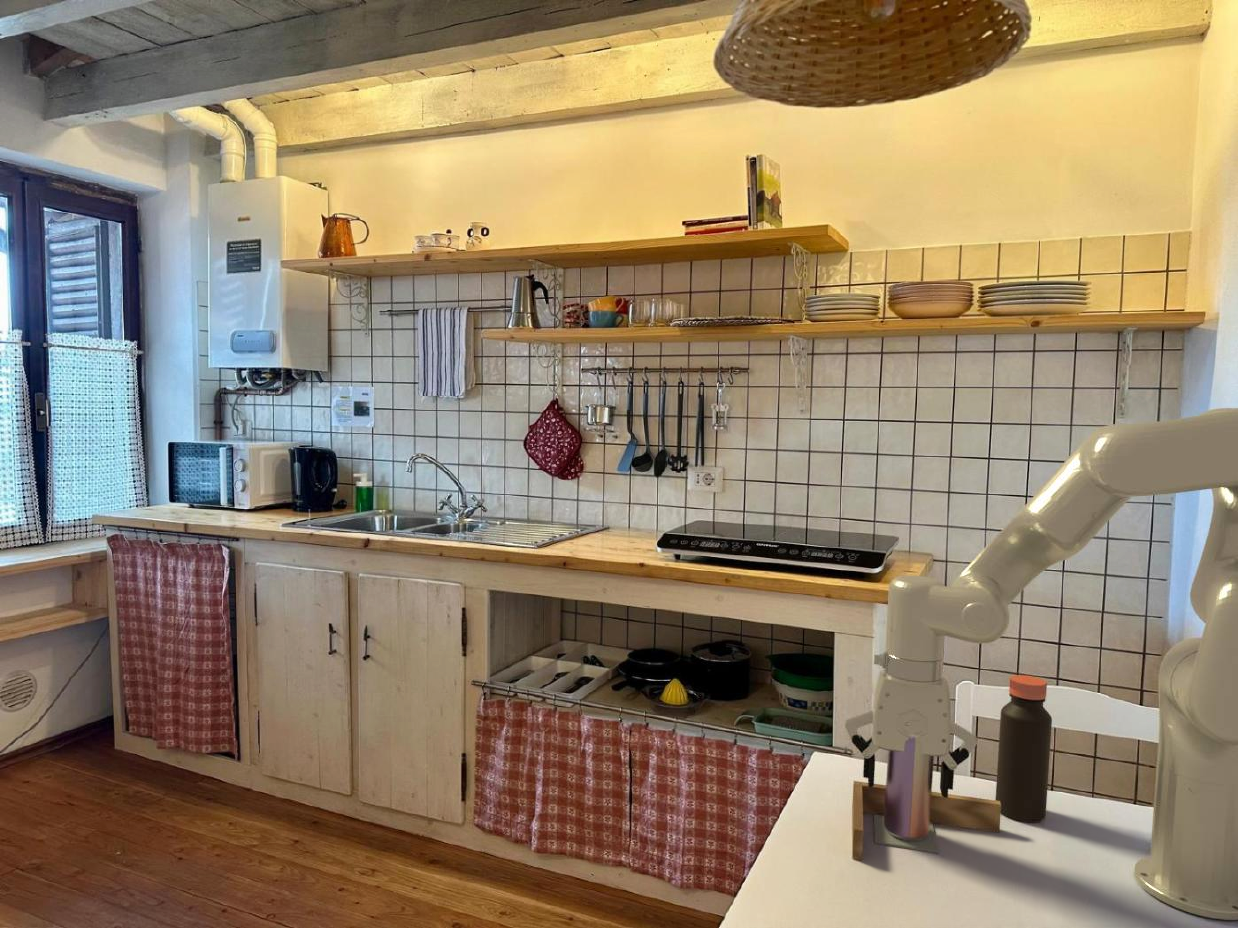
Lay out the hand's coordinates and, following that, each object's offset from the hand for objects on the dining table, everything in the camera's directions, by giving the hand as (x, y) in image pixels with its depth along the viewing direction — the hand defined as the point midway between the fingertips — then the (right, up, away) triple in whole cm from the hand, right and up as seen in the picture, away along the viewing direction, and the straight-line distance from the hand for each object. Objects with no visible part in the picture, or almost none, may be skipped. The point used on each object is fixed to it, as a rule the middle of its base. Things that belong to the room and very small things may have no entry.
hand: (906, 787), depth 117 cm
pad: (0, -7, 0) cm, 7 cm away
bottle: (+19, -7, +8) cm, 22 cm away
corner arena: (+2, -7, -2) cm, 7 cm away
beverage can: (0, -7, 0) cm, 7 cm away
